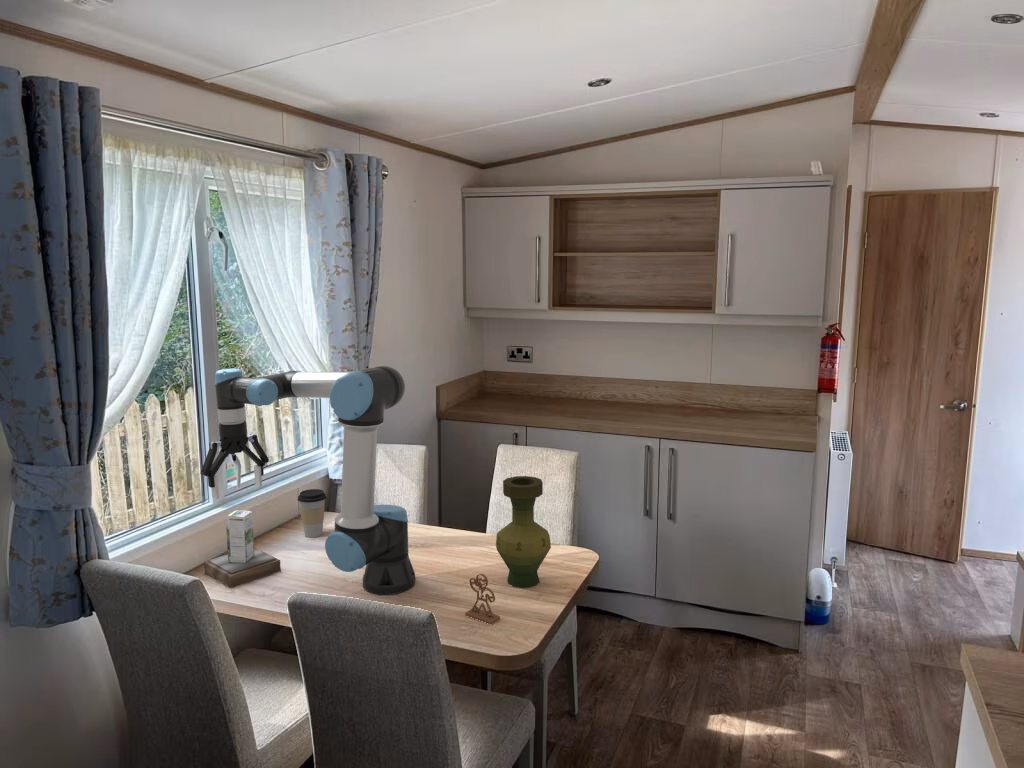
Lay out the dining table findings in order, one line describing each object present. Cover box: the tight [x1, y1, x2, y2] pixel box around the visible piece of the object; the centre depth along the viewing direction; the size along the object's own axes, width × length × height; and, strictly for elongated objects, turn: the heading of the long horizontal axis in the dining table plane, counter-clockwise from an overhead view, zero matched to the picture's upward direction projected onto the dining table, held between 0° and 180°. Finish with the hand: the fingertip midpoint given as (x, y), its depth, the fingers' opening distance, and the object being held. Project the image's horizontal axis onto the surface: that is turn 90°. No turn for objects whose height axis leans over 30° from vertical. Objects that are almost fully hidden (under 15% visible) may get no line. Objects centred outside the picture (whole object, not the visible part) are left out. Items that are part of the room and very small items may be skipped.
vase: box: [495, 475, 552, 589], centre depth 218 cm, size 16×16×30 cm
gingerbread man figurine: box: [464, 573, 501, 625], centre depth 198 cm, size 9×4×12 cm, turn 54°
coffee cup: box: [297, 488, 327, 539], centre depth 258 cm, size 9×9×15 cm
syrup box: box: [225, 509, 255, 563], centre depth 227 cm, size 6×6×14 cm
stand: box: [203, 547, 282, 589], centre depth 229 cm, size 16×16×4 cm
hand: (237, 492), depth 225 cm, fingers open, 13 cm apart
